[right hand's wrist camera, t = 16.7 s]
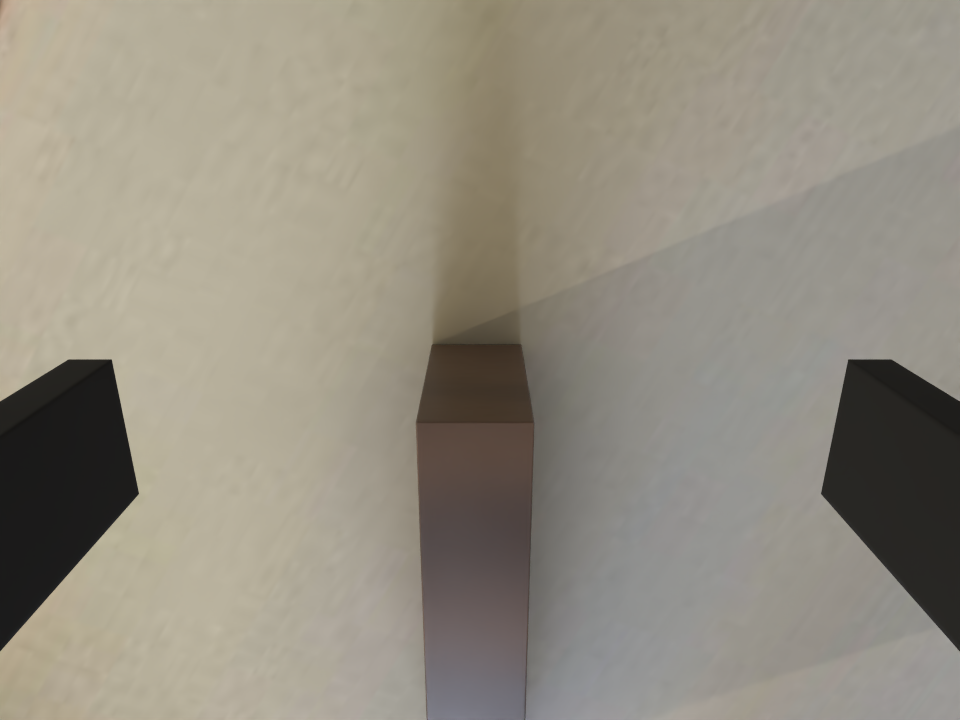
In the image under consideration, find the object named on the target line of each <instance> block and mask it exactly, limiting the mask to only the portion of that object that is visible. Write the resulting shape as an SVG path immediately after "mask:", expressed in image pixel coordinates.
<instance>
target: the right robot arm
mask: <svg viewBox="0 0 960 720" xmlns="http://www.w3.org/2000/svg"><path fill="white" fill-rule="evenodd" d="M138 494H139V492H138V487H137V482H136V477H135V472H134V467H133V462H132V457H131V452H130V448H129V443H128V438H127V433H126V428H125V423H124V418H123V413H122V408H121V403H120V398H119V393H118V388H117V384H116V379H115V374H114V369H113V364H112V360H67V361H66V362H64V363H62V364H61V365H59V366H57V367H56V368H54V369H53V370H51V371H49V372H48V373H46V374H44V375H43V376H41V377H40V378H38V379H36V380H35V381H33V382H31V383H30V384H28V385H26V386H25V387H23V388H22V389H20V390H18V391H17V392H15V393H13V394H12V395H10V396H9V397H7V398H5V399H4V400H2V401H0V651H1V650H2V649H3V647H4V646H5V645H6V644H7V643H8V642H9V641H10V640H11V638H12V637H13V636H14V635H15V634H16V633H17V632H18V630H19V629H20V628H21V627H22V626H23V625H24V624H25V623H26V621H27V620H28V619H29V618H30V617H31V616H32V615H33V613H34V612H35V611H36V610H37V609H38V608H39V607H40V606H41V604H42V603H43V602H44V601H45V600H46V599H47V598H48V596H49V595H50V594H51V593H52V592H53V591H54V590H55V588H56V587H57V586H58V585H59V584H60V583H61V582H62V581H63V579H64V578H65V577H66V576H67V575H68V574H69V573H70V571H71V570H72V569H73V568H74V567H75V566H76V565H77V564H78V562H79V561H80V560H81V559H82V558H83V557H84V556H85V554H86V553H87V552H88V551H89V550H90V549H91V548H92V547H93V545H94V544H95V543H96V542H97V541H98V540H99V539H100V537H101V536H102V535H103V534H104V533H105V532H106V531H107V529H108V528H109V527H110V526H111V525H112V524H113V523H114V522H115V520H116V519H117V518H118V517H119V516H120V515H121V514H122V512H123V511H124V510H125V509H126V508H127V507H128V506H129V505H130V503H131V502H132V501H133V500H134V499H135V498H136V497H137V495H138ZM821 494H822V495H823V497H824V498H825V499H826V500H827V501H828V502H829V503H830V505H831V506H832V507H833V508H834V509H835V510H836V511H837V512H838V514H839V515H840V516H841V517H842V518H843V519H844V520H845V522H846V523H847V524H848V525H849V526H850V527H851V528H852V529H853V531H854V532H855V533H856V534H857V535H858V536H859V537H860V539H861V540H862V541H863V542H864V543H865V544H866V545H867V547H868V548H869V549H870V550H871V551H872V552H873V553H874V554H875V556H876V557H877V558H878V559H879V560H880V561H881V562H882V564H883V565H884V566H885V567H886V568H887V569H888V570H889V571H890V573H891V574H892V575H893V576H894V577H895V578H896V579H897V581H898V582H899V583H900V584H901V585H902V586H903V587H904V588H905V590H906V591H907V592H908V593H909V594H910V595H911V596H912V598H913V599H914V600H915V601H916V602H917V603H918V604H919V606H920V607H921V608H922V609H923V610H924V611H925V612H926V613H927V615H928V616H929V617H930V618H931V619H932V620H933V621H934V623H935V624H936V625H937V626H938V627H939V628H940V629H941V630H942V632H943V633H944V634H945V635H946V636H947V637H948V638H949V640H950V641H951V642H952V643H953V644H954V645H955V646H956V647H957V649H958V650H959V651H960V401H958V400H956V399H955V398H953V397H951V396H950V395H948V394H947V393H945V392H943V391H942V390H940V389H938V388H937V387H935V386H934V385H932V384H930V383H929V382H927V381H925V380H924V379H922V378H920V377H919V376H917V375H916V374H914V373H912V372H911V371H909V370H907V369H906V368H904V367H903V366H901V365H899V364H898V363H896V362H894V361H893V360H848V364H847V369H846V374H845V379H844V384H843V388H842V393H841V398H840V403H839V408H838V413H837V418H836V423H835V428H834V433H833V438H832V443H831V448H830V452H829V457H828V462H827V467H826V472H825V477H824V482H823V487H822V492H821Z"/></svg>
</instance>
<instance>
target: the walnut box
mask: <svg viewBox="0 0 960 720" xmlns="http://www.w3.org/2000/svg"><path fill="white" fill-rule="evenodd" d="M416 438H417V465H418V493H419V520H420V547H421V574H422V602H423V629H424V656H425V683H426V711H427V720H525V707H526V675H527V642H528V610H529V577H530V545H531V513H532V480H533V448H534V418H533V412H532V406H531V400H530V395H529V389H528V383H527V377H526V371H525V365H524V359H523V353H522V347H521V345H432V347H431V352H430V357H429V362H428V367H427V372H426V376H425V381H424V386H423V391H422V396H421V401H420V405H419V410H418V415H417V420H416Z"/></svg>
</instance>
